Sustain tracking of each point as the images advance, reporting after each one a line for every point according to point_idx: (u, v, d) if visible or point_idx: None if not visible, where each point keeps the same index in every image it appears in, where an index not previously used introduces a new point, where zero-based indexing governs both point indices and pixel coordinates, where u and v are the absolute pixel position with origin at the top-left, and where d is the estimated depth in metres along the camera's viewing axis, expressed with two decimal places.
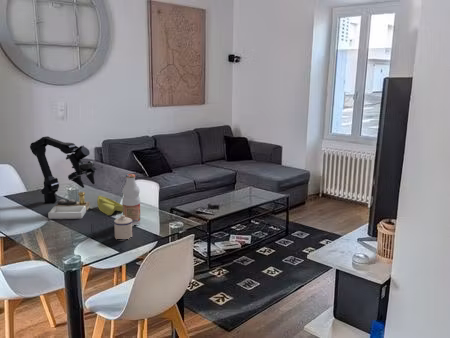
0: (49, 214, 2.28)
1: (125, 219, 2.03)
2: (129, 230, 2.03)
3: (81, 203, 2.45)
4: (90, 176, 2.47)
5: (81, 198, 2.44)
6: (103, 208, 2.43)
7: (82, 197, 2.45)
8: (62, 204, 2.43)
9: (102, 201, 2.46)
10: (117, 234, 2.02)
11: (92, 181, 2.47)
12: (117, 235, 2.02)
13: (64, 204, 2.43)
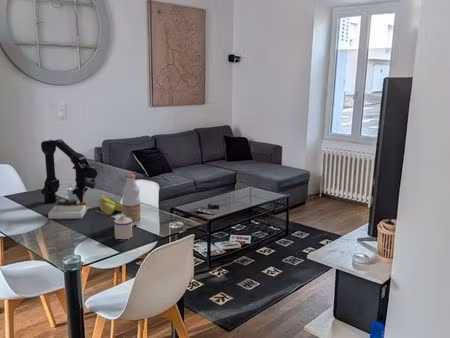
0: (49, 214, 2.28)
1: (125, 219, 2.03)
2: (129, 230, 2.03)
3: (81, 203, 2.45)
4: None
5: None
6: (103, 207, 2.44)
7: None
8: (62, 204, 2.43)
9: (103, 200, 2.47)
10: (117, 234, 2.02)
11: None
12: (117, 235, 2.02)
13: (64, 204, 2.43)
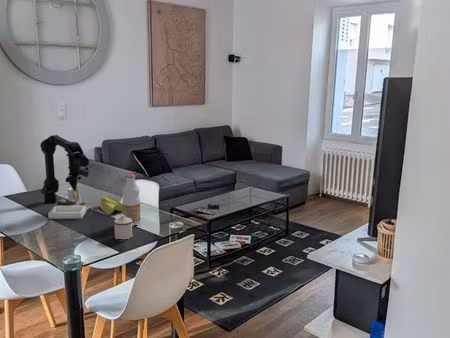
0: (49, 214, 2.28)
1: (125, 219, 2.03)
2: (129, 230, 2.03)
3: (75, 192, 2.38)
4: None
5: None
6: (104, 207, 2.45)
7: None
8: (62, 204, 2.43)
9: (105, 200, 2.48)
10: (117, 234, 2.02)
11: None
12: (117, 235, 2.02)
13: (64, 204, 2.43)
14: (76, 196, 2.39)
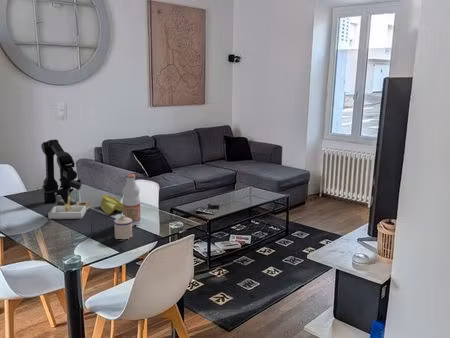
0: (49, 214, 2.28)
1: (125, 219, 2.03)
2: (129, 230, 2.03)
3: (66, 205, 2.32)
4: None
5: None
6: (104, 207, 2.45)
7: None
8: (62, 204, 2.43)
9: (105, 200, 2.48)
10: (117, 234, 2.02)
11: None
12: (117, 235, 2.02)
13: (64, 204, 2.43)
14: (68, 209, 2.33)
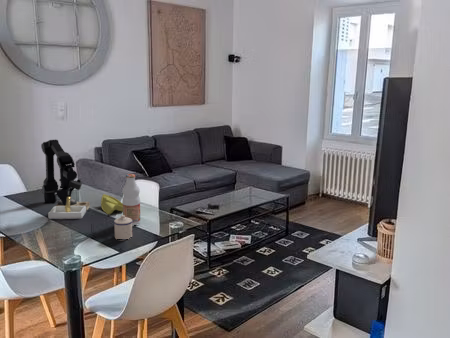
0: (49, 214, 2.28)
1: (125, 219, 2.03)
2: (129, 230, 2.03)
3: (66, 208, 2.33)
4: (69, 191, 2.37)
5: (66, 203, 2.32)
6: (104, 207, 2.45)
7: (67, 202, 2.32)
8: (62, 204, 2.43)
9: (105, 200, 2.49)
10: (117, 234, 2.02)
11: None
12: (117, 235, 2.02)
13: None
14: None
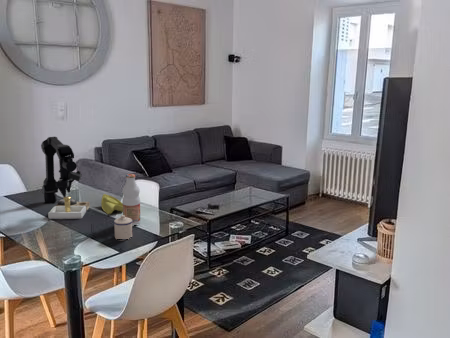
0: (49, 214, 2.28)
1: (125, 219, 2.03)
2: (129, 230, 2.03)
3: (66, 208, 2.33)
4: (68, 183, 2.36)
5: (66, 203, 2.32)
6: (105, 207, 2.45)
7: (67, 202, 2.32)
8: (62, 204, 2.43)
9: (106, 200, 2.49)
10: (117, 234, 2.02)
11: (68, 189, 2.36)
12: (117, 235, 2.02)
13: (64, 204, 2.43)
14: None
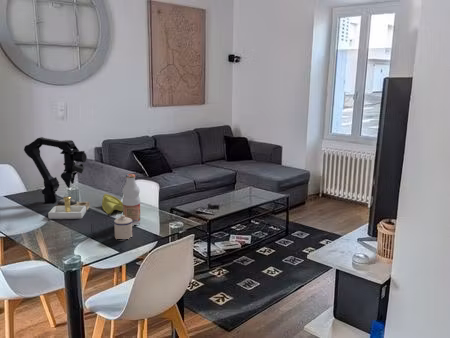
0: (49, 214, 2.28)
1: (125, 219, 2.03)
2: (129, 230, 2.03)
3: (66, 208, 2.33)
4: None
5: (66, 203, 2.32)
6: (105, 206, 2.46)
7: (67, 202, 2.32)
8: (62, 204, 2.43)
9: (106, 199, 2.50)
10: (117, 234, 2.02)
11: (72, 180, 2.56)
12: (117, 235, 2.02)
13: (64, 204, 2.43)
14: None
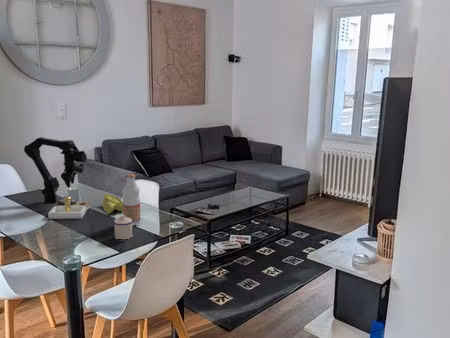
0: (49, 214, 2.28)
1: (125, 219, 2.03)
2: (129, 230, 2.03)
3: (66, 208, 2.33)
4: None
5: (66, 203, 2.32)
6: (106, 206, 2.46)
7: (67, 202, 2.32)
8: (62, 204, 2.43)
9: (107, 199, 2.50)
10: (117, 234, 2.02)
11: (72, 180, 2.56)
12: (117, 235, 2.02)
13: (64, 204, 2.43)
14: None
